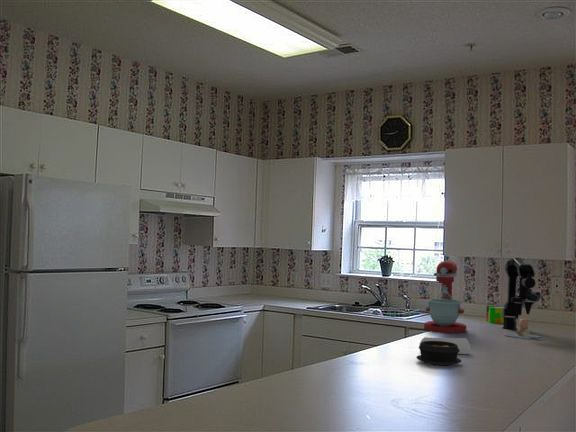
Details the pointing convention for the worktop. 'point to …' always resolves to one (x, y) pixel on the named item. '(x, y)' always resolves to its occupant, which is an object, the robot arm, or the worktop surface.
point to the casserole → (438, 353)
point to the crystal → (460, 342)
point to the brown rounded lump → (523, 324)
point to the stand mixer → (445, 303)
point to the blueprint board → (523, 336)
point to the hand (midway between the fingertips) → (524, 314)
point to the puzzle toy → (494, 314)
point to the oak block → (523, 332)
